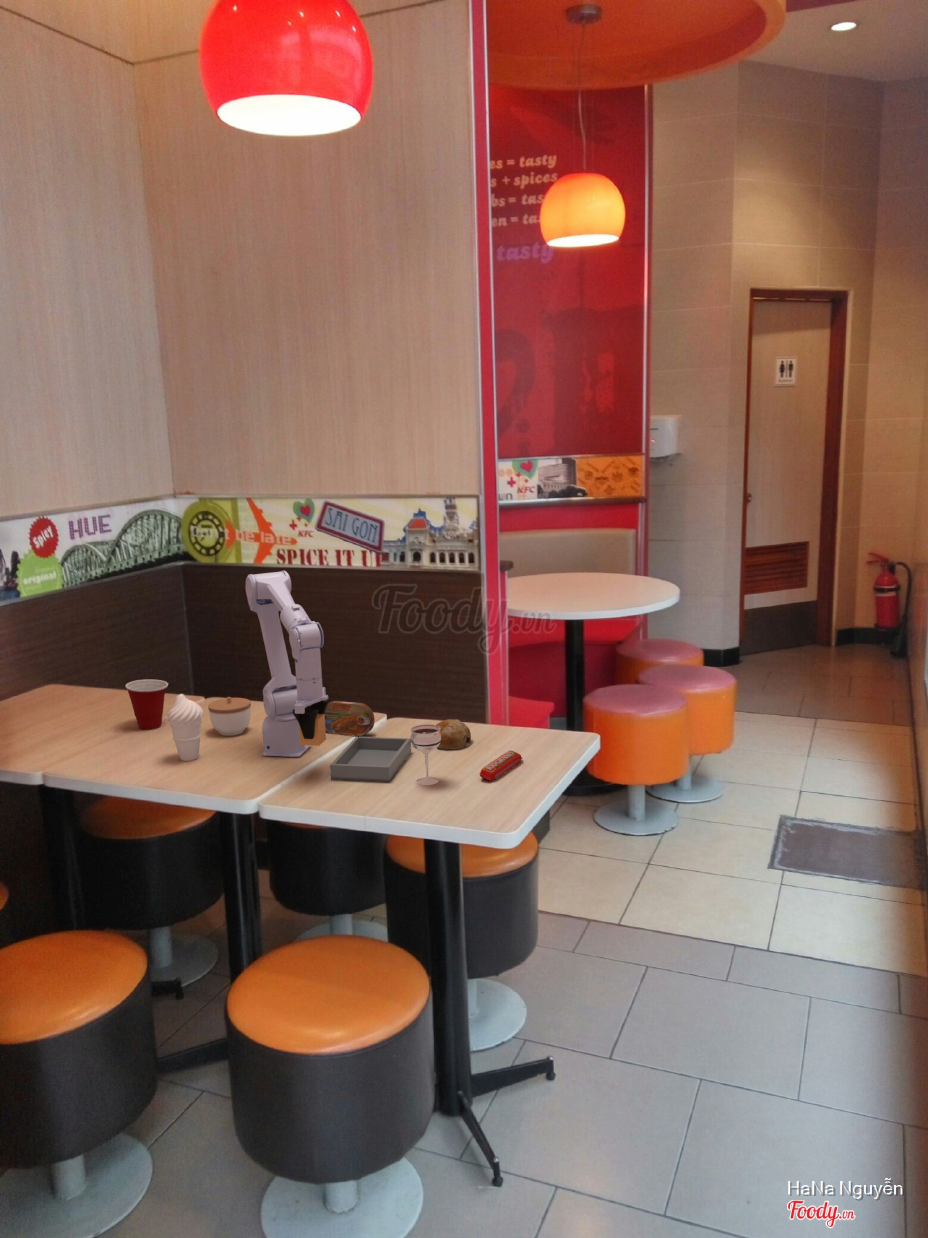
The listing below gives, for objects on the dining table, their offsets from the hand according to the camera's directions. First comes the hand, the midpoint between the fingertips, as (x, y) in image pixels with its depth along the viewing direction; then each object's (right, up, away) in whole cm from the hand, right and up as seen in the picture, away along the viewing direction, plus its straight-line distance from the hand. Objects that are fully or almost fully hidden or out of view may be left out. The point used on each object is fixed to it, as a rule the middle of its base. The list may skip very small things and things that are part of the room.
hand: (312, 735), depth 222 cm
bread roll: (+31, -5, +18) cm, 36 cm away
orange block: (0, -2, 0) cm, 2 cm away
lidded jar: (-26, -3, +33) cm, 42 cm away
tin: (+5, -3, +29) cm, 29 cm away
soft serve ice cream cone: (-32, -7, +14) cm, 36 cm away
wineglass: (+26, -10, -6) cm, 29 cm away
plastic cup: (-49, -3, +39) cm, 63 cm away
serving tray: (+13, -8, +5) cm, 16 cm away
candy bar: (+43, -8, -1) cm, 44 cm away
